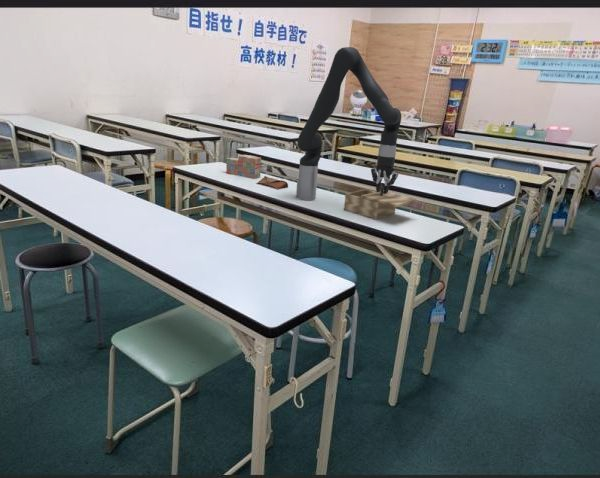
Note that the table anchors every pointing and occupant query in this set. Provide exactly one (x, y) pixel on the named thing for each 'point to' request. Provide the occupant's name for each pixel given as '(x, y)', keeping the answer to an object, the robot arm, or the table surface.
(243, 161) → the stack of blocks
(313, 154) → the robot arm
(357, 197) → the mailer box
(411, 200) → the box lid
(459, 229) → the table surface
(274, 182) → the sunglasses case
